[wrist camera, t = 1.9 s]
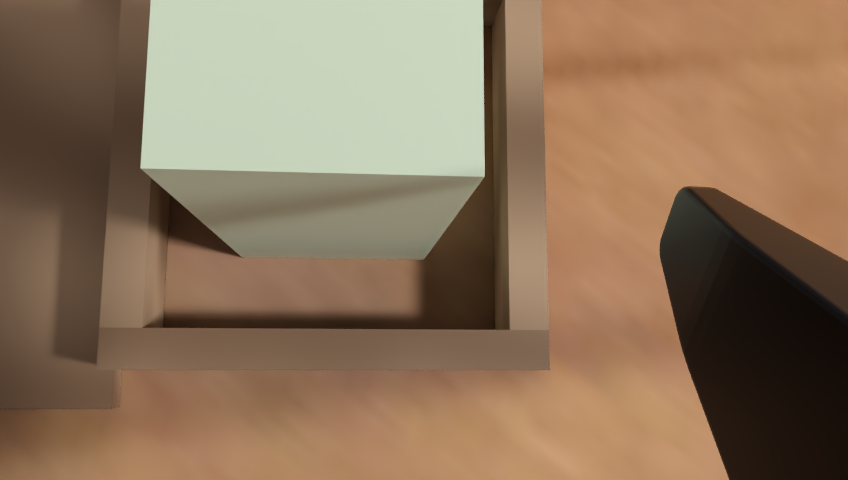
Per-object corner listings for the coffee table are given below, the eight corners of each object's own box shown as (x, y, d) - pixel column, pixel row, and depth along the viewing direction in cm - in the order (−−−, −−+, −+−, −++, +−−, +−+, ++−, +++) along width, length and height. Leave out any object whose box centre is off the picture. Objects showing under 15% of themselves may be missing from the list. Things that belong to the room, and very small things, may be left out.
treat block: (423, 259, 21) (484, 177, 11) (242, 257, 21) (141, 168, 11) (424, 89, 22) (481, -129, 12) (249, 83, 21) (160, -149, 12)
